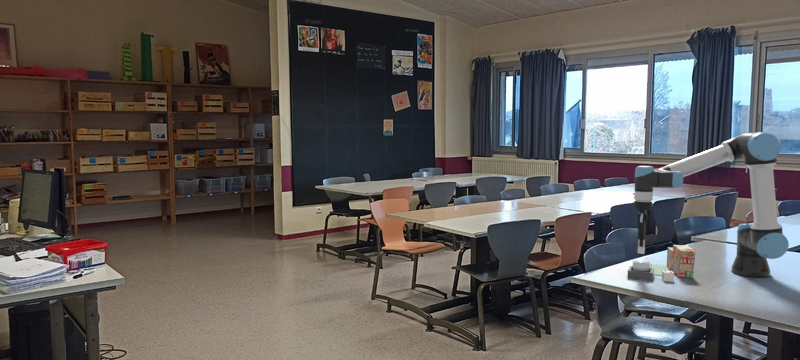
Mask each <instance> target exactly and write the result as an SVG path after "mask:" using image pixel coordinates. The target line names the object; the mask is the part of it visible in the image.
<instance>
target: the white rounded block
mask: <svg viewBox="0 0 800 360" xmlns="http://www.w3.org/2000/svg"><path fill="white" fill-rule="evenodd" d="M650 264H651V262H650V261H649V260H645V259H634V260H632V266H633V269H632V270H633V271H643V272H649V270H650V268H651V267H650Z"/></svg>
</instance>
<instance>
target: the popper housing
mask: <svg viewBox="0 0 800 360" xmlns="http://www.w3.org/2000/svg"><path fill="white" fill-rule="evenodd" d="M632 269H633V265H630V266H629V267H628V269H627V279H630V278H636V279H635V280H639V279H642V281H649V282H650V281H651V282H652V281H653V279H654V277H653V276H655V275H654V268H653V267H650V270H649V272H643V271H633V270H632Z"/></svg>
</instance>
